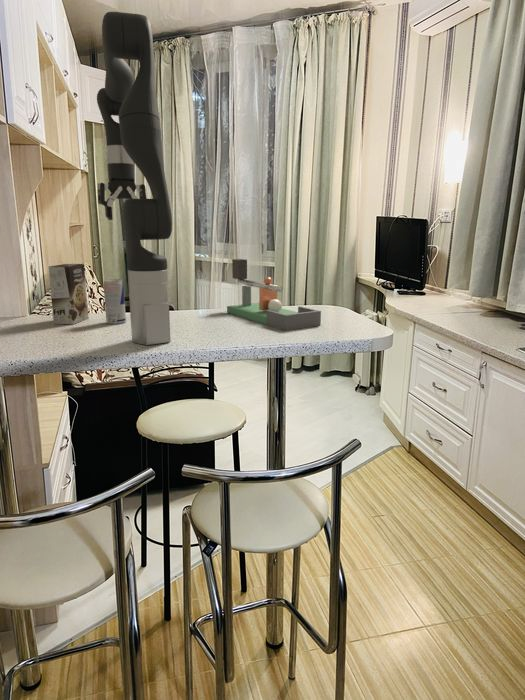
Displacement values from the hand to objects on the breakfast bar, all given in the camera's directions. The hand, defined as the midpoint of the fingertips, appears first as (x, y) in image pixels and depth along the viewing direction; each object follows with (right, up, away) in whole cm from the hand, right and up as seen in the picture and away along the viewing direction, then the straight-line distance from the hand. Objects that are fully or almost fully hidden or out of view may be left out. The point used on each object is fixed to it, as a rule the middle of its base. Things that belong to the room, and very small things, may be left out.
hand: (124, 219), depth 157 cm
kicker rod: (+40, -26, +2) cm, 48 cm away
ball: (+45, -26, -6) cm, 53 cm away
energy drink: (0, -32, -9) cm, 33 cm away
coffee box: (-13, -31, -7) cm, 35 cm away
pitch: (+44, -30, -3) cm, 53 cm away
